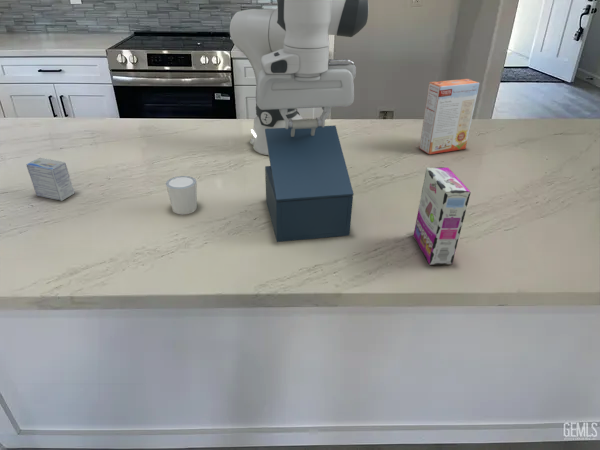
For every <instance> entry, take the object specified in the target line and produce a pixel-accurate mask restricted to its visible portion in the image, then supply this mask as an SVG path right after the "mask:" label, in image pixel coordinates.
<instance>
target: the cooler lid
mask: <svg viewBox="0 0 600 450" xmlns="http://www.w3.org/2000/svg"><path fill="white" fill-rule="evenodd" d="M292 121H293V125H292V126H293V129H285V128H271V129H265V135H266V141H267V147H268V153H269V155H268V159H269V166H271V172H272V178H273V185H274V191H275V197H276V202H279V201H292V200H306V199H319V198H332V197H345V196H353V197H354V190H353V186H352V183H351V179H350V175H349V171H348V167H347V164H346V159H345V156H344V153H343V148H342V145H341V141H340V137H339V134H338V133H339V132H338V129H337V125H336V124H335V125H324V127H319V128H317V127H318V120H317V119H316V118H303V119H295V120H292Z"/></svg>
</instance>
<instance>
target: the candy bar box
mask: <svg viewBox="0 0 600 450" xmlns="http://www.w3.org/2000/svg"><path fill="white" fill-rule="evenodd" d="M471 193H472V191H471V190H470V189H469V188H468V187H467V186H466V184H464V183H463V181H462V180H460V178H459V177H458V176H457V175H456V173H454V172H453V171H452V170H451V168H450V167H444V166H443V167H442V166H441V167H440V166H439V167H438V166H437V167H436V166H435V167H426V168H425V174H424V179H423V185H422V189H421V193H420V199H419V205H418V210H417V214H416V220H415V224H414V225H415V227H414V230H413V235H412V236H413V238H414V241H416V243H417V245H418V247H419V248H420V250H421V252H422V254H423V256H424V257H425V259H426V262H427V263H428V264H429V265H430V266H450V265H451V266H452V265H453V262H454V259H455V255H456V250H457V247H458V242H459V238H460V235H461V230H462V227H463V225H464V224H463V223H464V220H465V216H466V212H467V208H468V204H469V200H470V197H471Z"/></svg>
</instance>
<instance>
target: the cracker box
mask: <svg viewBox="0 0 600 450" xmlns="http://www.w3.org/2000/svg"><path fill="white" fill-rule="evenodd" d="M479 87H480V82H479V81H475V80H473V79H471V78H462V79H461V78H460V79H451V80H441V81H440V80H439V81H430V82H429V83H428V89H427V95H426V101H425V109H424V115H423V121H422V127H421V135H420V139H419V149H420V150H421V151H423V152H424V153H425V154H427V155H436V154H442V153H447V152H448V153H449V152H455V151H461V150H466V148H467V144H468V139H469V135H470V129H471V125H472V121H473V115H474V112H475V107H476V101H477V98H478V97H477V96H478V92H479Z"/></svg>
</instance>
